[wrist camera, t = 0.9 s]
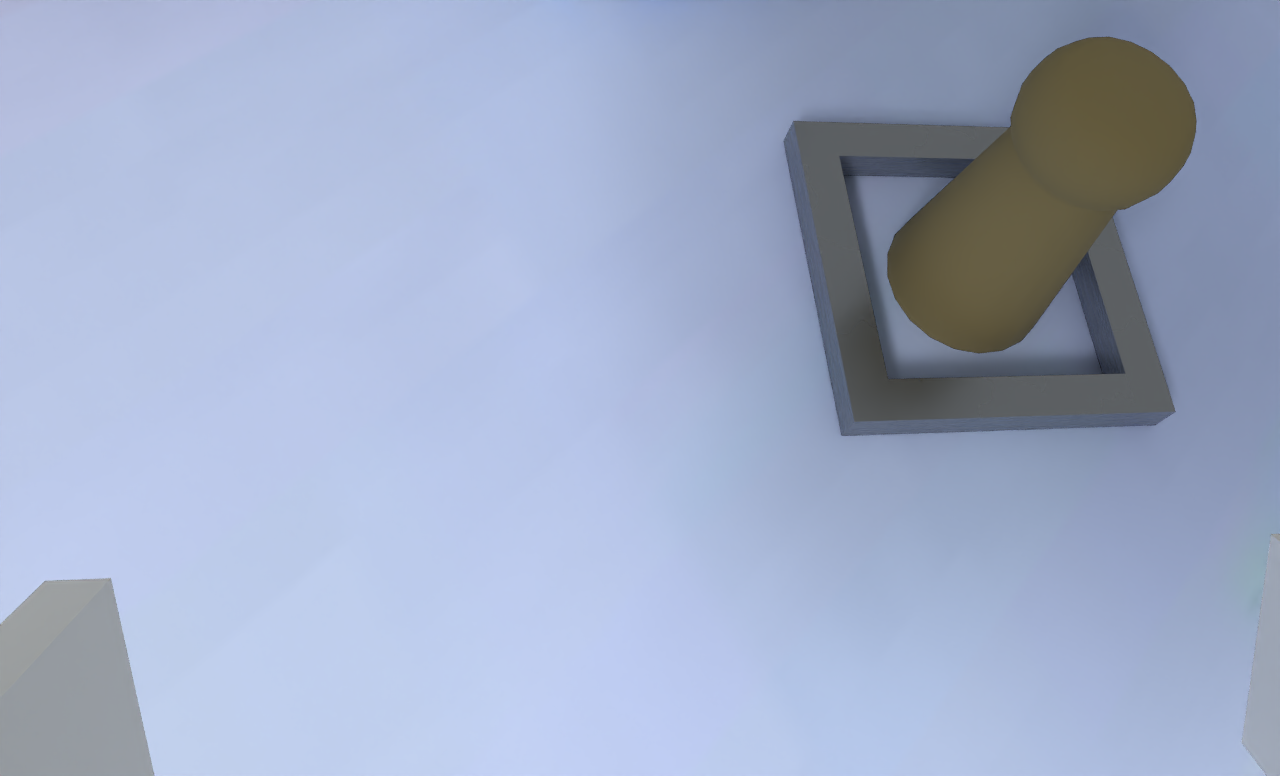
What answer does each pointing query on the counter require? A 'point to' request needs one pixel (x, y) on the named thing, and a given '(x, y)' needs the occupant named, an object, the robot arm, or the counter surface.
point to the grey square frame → (960, 403)
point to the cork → (1042, 193)
